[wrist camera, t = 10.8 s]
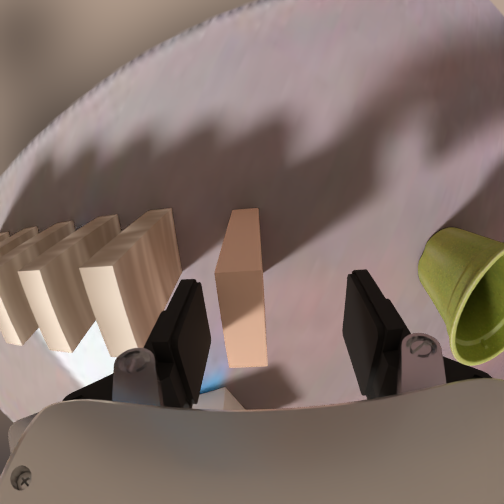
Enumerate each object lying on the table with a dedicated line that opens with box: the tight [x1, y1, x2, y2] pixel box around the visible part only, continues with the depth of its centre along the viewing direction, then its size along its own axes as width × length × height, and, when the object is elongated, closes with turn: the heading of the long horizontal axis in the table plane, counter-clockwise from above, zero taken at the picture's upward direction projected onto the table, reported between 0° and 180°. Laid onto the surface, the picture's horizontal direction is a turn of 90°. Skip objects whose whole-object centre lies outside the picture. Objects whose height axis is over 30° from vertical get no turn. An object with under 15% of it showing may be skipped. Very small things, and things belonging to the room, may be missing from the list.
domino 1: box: [0, 226, 39, 258], centre depth 18 cm, size 2×5×10 cm, turn 4°
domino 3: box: [17, 214, 121, 353], centre depth 17 cm, size 2×5×10 cm, turn 4°
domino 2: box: [0, 220, 75, 346], centre depth 17 cm, size 2×5×10 cm, turn 4°
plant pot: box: [418, 227, 504, 366], centre depth 18 cm, size 9×9×9 cm
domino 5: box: [215, 208, 268, 368], centre depth 17 cm, size 2×5×10 cm, turn 4°
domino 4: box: [79, 208, 182, 357], centre depth 17 cm, size 2×5×10 cm, turn 4°
